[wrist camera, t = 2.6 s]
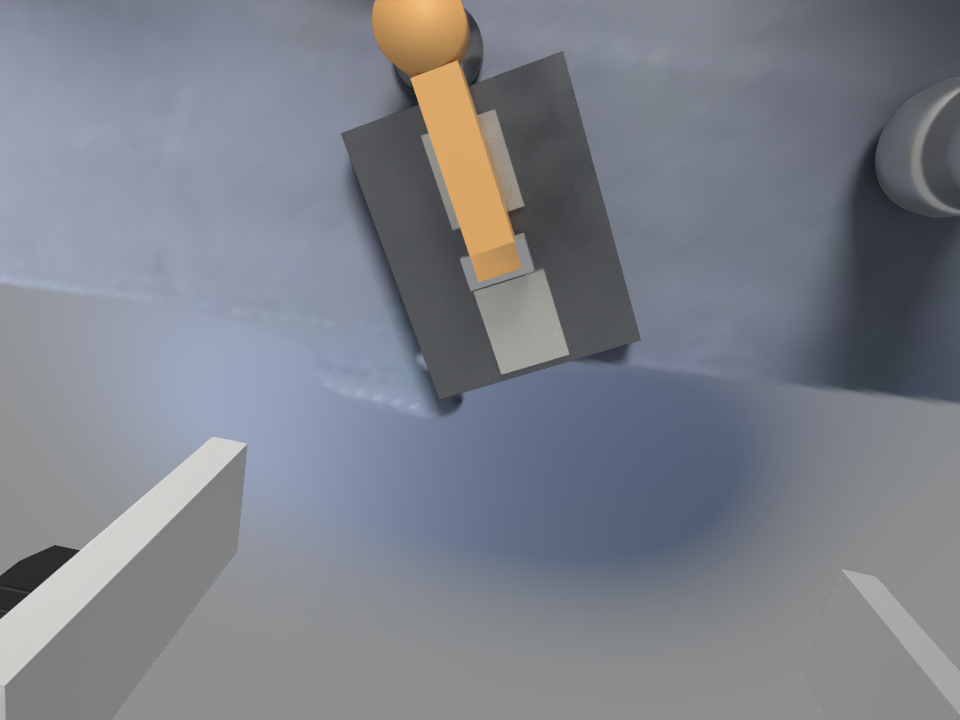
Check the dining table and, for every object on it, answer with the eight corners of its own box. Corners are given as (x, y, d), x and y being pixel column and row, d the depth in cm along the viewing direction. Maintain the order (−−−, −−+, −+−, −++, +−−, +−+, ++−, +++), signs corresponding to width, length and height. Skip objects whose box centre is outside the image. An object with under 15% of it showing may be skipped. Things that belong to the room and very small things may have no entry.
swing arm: (374, 6, 29) (358, -12, 26) (454, -26, 29) (446, -48, 26) (467, 283, 33) (462, 293, 30) (540, 259, 32) (542, 268, 29)
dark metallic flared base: (381, 20, 33) (365, 2, 30) (466, -14, 32) (460, -35, 29) (412, 112, 34) (400, 105, 31) (494, 81, 34) (492, 71, 30)
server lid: (353, 136, 35) (338, 132, 32) (559, 59, 33) (563, 49, 30) (444, 385, 39) (438, 402, 36) (633, 329, 37) (642, 342, 34)
